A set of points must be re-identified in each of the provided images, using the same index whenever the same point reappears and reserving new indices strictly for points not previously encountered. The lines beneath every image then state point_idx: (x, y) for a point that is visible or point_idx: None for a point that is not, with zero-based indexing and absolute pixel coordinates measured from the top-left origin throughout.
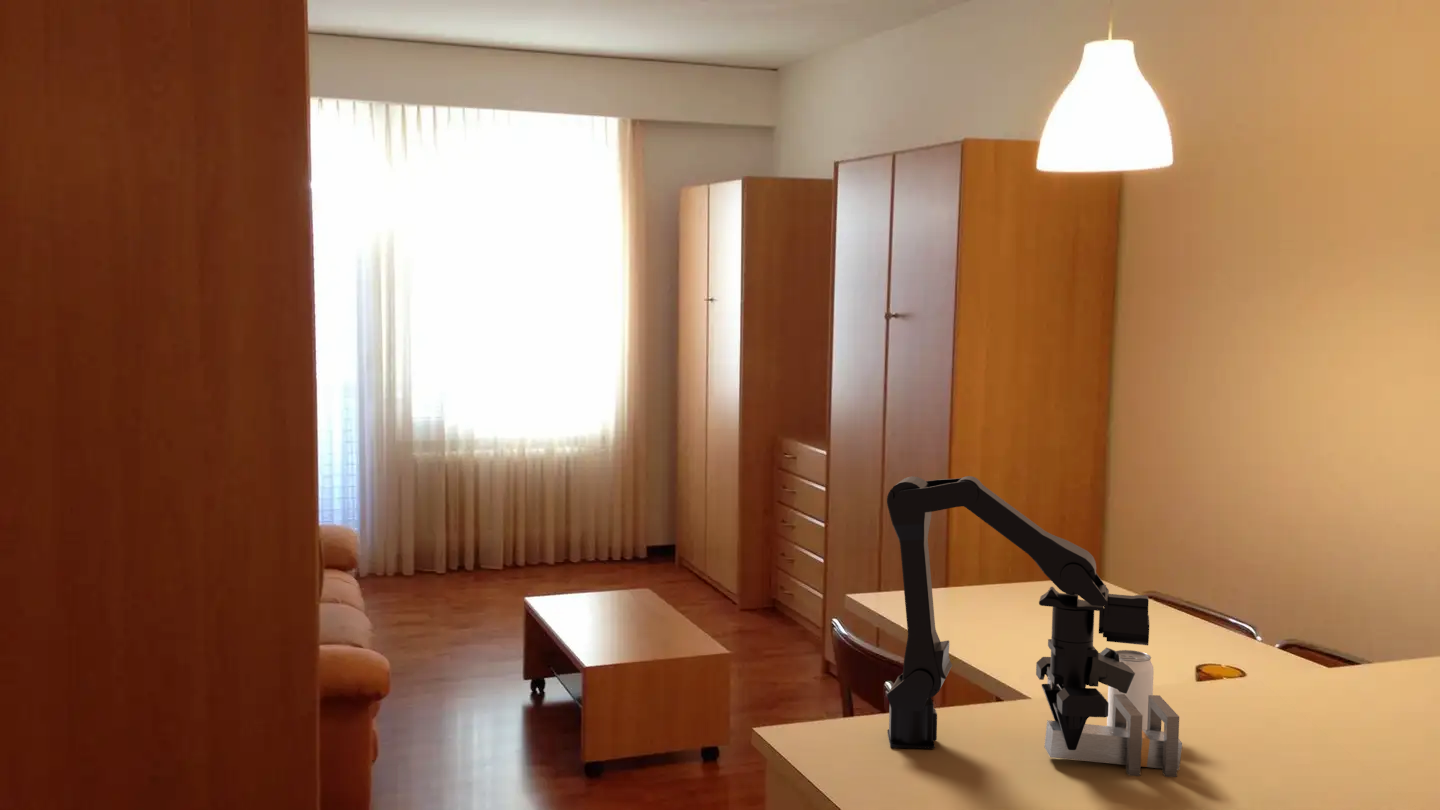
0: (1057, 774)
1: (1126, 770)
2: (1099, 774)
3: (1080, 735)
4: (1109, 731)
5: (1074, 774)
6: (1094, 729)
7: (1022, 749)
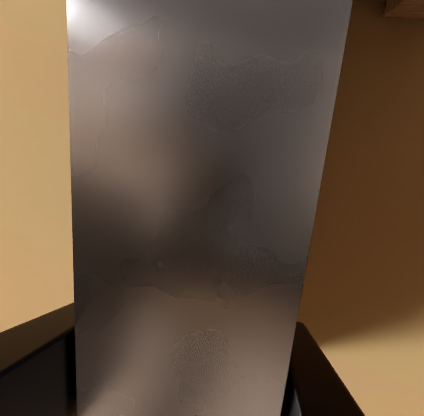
0: (366, 362)
1: (394, 14)
2: (395, 185)
3: (352, 398)
4: (212, 84)
5: (376, 298)
6: (184, 217)
7: None
